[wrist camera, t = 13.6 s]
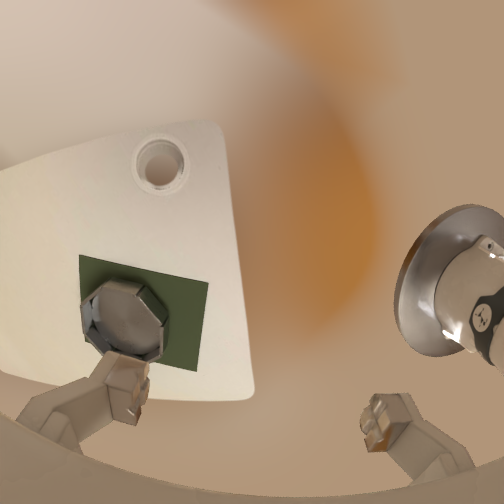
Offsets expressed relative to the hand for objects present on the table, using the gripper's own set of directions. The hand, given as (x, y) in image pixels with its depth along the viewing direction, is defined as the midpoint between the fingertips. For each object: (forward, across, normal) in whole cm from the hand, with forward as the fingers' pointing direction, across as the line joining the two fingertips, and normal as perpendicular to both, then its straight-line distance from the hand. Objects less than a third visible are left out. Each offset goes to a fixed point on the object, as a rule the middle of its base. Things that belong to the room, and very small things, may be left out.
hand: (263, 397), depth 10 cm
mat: (+29, +15, +18) cm, 37 cm away
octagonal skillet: (+29, +16, +22) cm, 40 cm away
